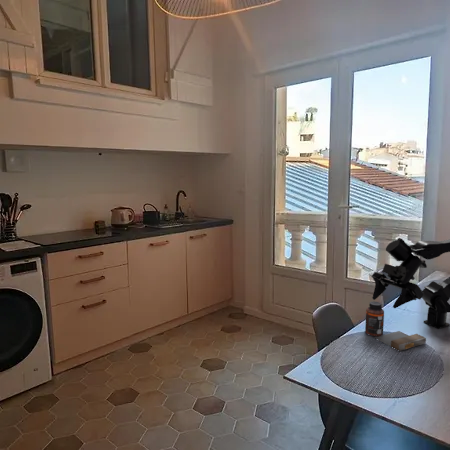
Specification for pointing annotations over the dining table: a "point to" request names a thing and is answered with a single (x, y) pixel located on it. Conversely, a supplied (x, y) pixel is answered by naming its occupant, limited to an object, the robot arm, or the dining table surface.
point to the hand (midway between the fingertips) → (383, 303)
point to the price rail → (408, 342)
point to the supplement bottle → (374, 319)
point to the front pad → (391, 337)
